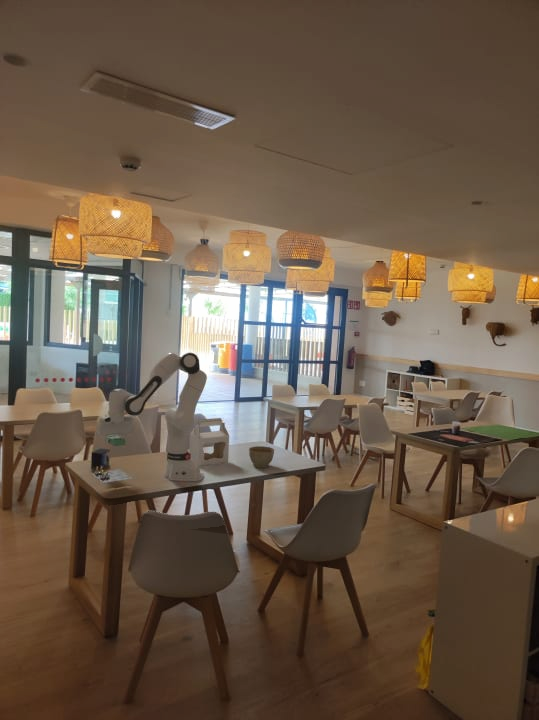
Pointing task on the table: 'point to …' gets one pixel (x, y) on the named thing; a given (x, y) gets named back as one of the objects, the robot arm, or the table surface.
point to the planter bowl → (261, 456)
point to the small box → (100, 458)
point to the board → (116, 440)
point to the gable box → (209, 437)
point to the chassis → (110, 475)
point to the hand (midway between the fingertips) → (115, 441)
